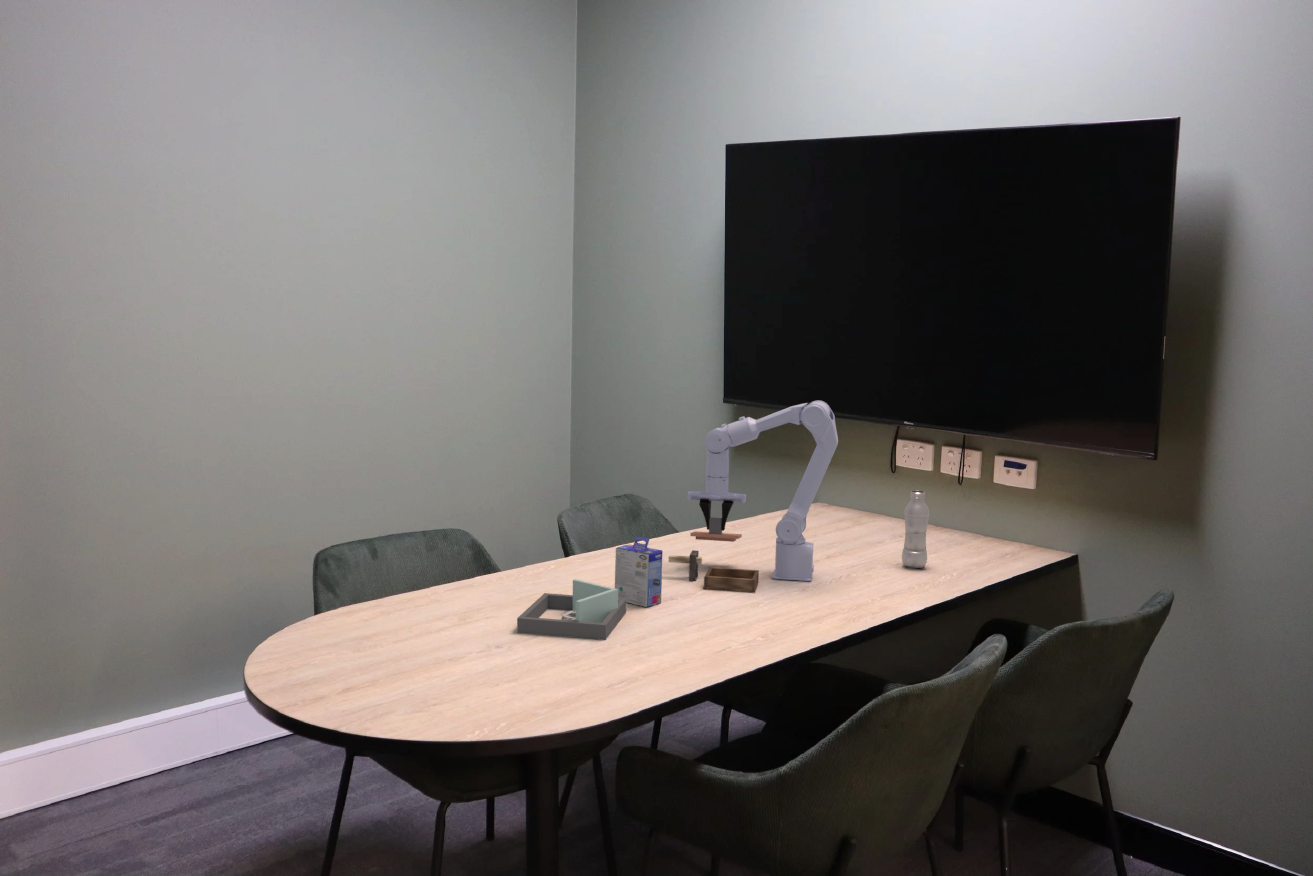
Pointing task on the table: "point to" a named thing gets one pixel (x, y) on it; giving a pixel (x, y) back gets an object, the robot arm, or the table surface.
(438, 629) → the table surface
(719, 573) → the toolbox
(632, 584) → the ink cartridge box
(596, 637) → the dark gray square frame
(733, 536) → the lid
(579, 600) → the l-shaped corner panel
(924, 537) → the plastic bottle
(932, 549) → the table surface
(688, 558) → the tan rectangular bar
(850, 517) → the table surface
